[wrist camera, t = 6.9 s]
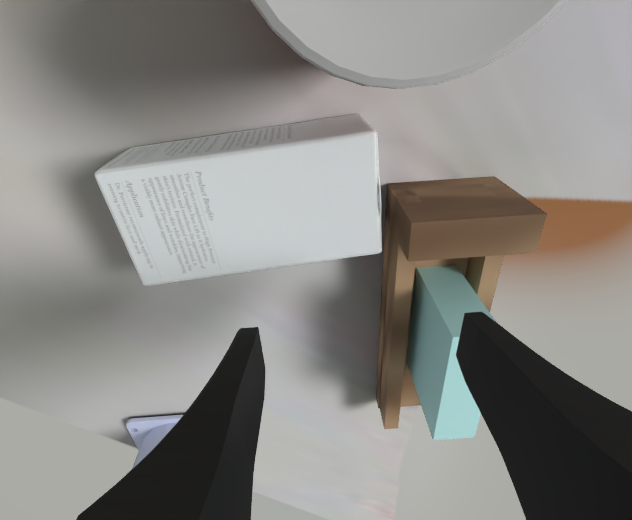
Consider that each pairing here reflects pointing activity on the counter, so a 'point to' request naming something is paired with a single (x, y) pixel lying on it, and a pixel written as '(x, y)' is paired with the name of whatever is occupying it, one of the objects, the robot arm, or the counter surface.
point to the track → (442, 259)
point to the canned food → (404, 35)
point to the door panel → (442, 350)
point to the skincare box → (247, 199)
